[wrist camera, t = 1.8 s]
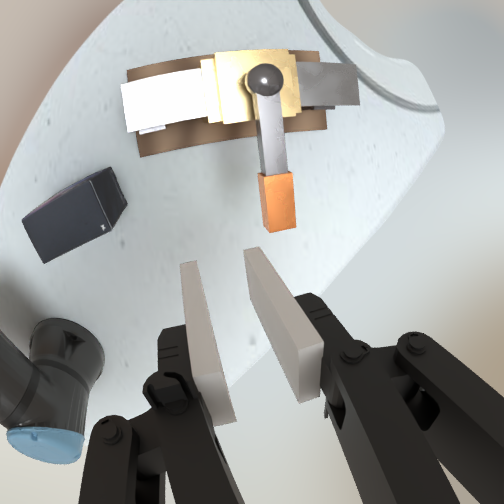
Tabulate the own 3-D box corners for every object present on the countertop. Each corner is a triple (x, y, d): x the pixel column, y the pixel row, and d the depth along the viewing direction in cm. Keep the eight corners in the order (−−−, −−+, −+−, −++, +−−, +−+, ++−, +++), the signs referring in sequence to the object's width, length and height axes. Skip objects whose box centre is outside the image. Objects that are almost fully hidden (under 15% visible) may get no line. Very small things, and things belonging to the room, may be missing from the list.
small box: (110, 163, 35) (90, 176, 26) (129, 205, 38) (115, 231, 29) (50, 195, 34) (18, 219, 25) (69, 234, 37) (44, 267, 28)
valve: (140, 138, 33) (124, 144, 22) (132, 86, 30) (113, 69, 19) (322, 112, 38) (376, 114, 27) (317, 66, 35) (370, 53, 23)
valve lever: (242, 67, 22) (247, 63, 20) (274, 66, 22) (282, 62, 21) (261, 225, 29) (267, 233, 27) (290, 220, 29) (298, 227, 27)
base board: (141, 156, 36) (140, 157, 34) (128, 72, 30) (126, 70, 29) (322, 128, 40) (327, 129, 39) (314, 53, 35) (318, 51, 33)
